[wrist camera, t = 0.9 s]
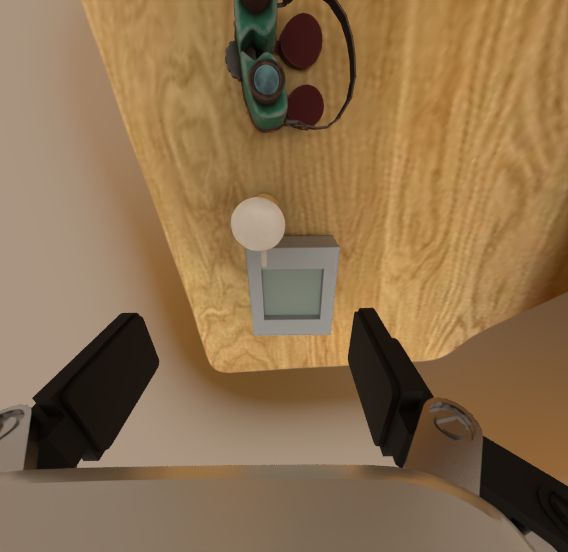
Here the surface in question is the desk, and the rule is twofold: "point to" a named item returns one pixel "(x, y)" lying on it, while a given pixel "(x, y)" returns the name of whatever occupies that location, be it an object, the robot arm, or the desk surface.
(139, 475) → the robot arm
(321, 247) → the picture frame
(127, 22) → the desk surface
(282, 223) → the milkshake
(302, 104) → the binoculars
